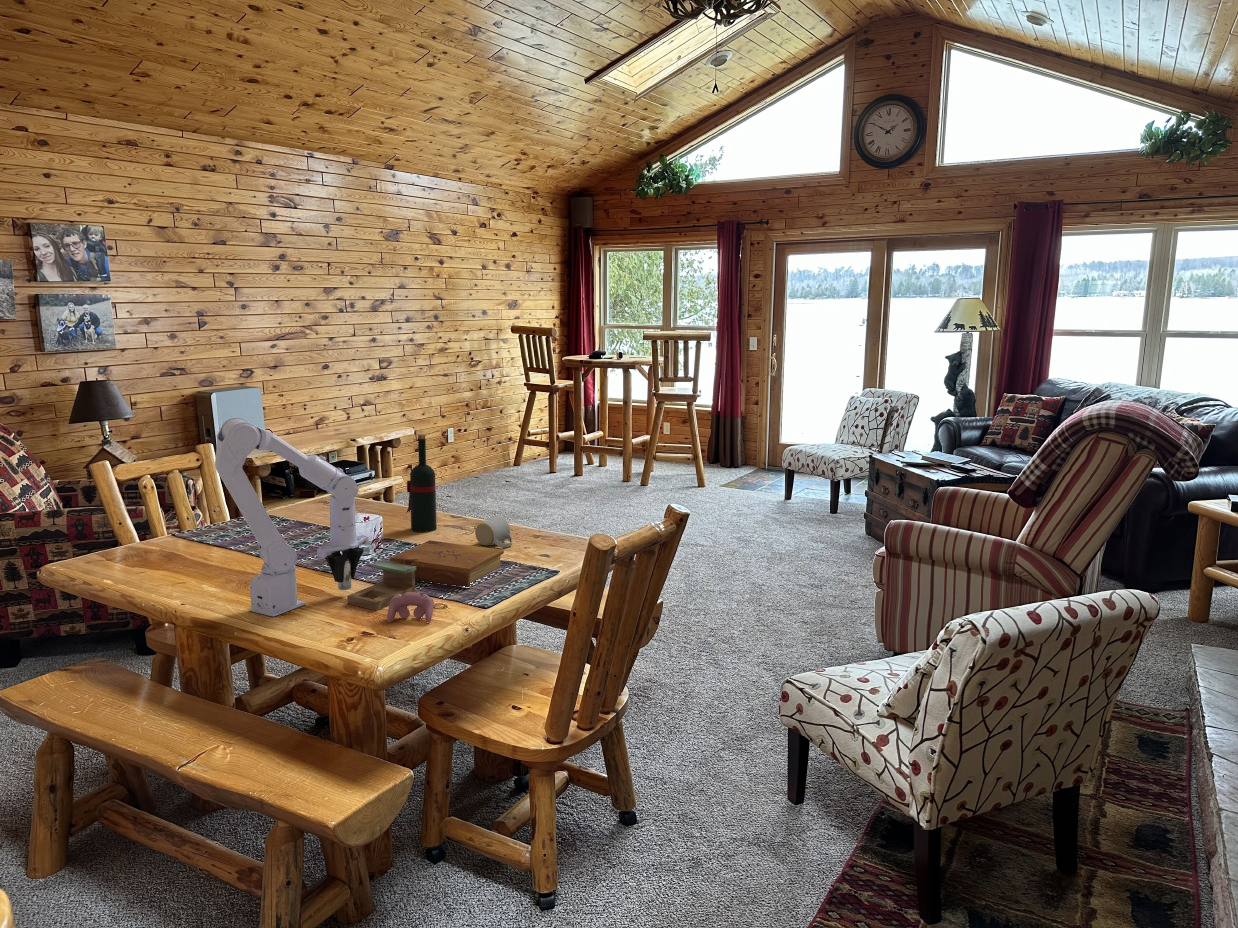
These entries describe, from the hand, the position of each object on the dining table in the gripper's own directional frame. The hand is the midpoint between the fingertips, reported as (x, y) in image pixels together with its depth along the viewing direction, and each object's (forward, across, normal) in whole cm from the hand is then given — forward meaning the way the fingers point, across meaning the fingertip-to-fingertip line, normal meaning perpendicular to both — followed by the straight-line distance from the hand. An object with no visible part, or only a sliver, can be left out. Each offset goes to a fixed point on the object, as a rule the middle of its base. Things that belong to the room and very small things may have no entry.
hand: (344, 579), depth 193 cm
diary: (+4, +26, -10) cm, 28 cm away
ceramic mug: (+4, +55, -5) cm, 55 cm away
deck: (+4, +3, -9) cm, 10 cm away
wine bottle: (+4, +57, +25) cm, 63 cm away
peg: (+2, 0, 0) cm, 2 cm away
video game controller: (+4, -4, -24) cm, 24 cm away
